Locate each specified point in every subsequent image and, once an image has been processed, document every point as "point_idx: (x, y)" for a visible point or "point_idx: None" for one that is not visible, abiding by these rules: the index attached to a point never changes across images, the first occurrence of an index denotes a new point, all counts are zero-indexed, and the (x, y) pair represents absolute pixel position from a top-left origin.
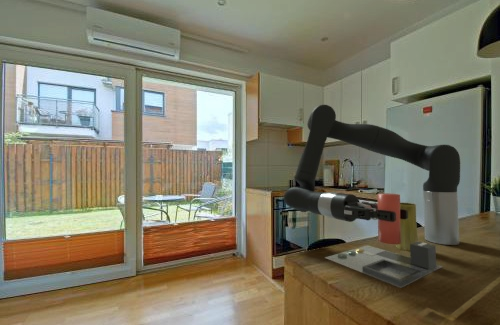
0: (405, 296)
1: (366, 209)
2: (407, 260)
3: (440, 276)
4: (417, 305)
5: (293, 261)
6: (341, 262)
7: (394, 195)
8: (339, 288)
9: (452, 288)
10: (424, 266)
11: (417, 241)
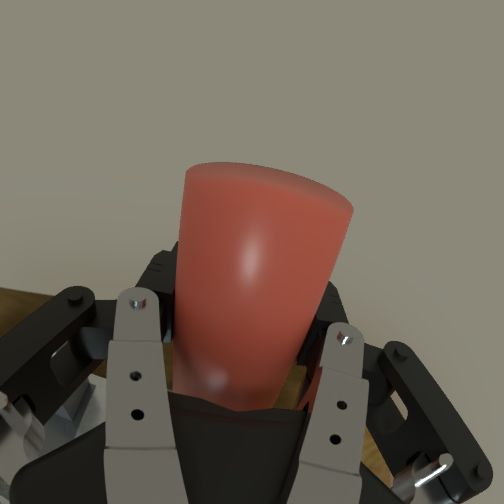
0: (288, 402)
1: (411, 352)
2: (45, 429)
3: (104, 367)
4: (301, 380)
5: None
6: None
7: (304, 177)
8: (389, 486)
9: (163, 350)
10: (85, 388)
11: None
